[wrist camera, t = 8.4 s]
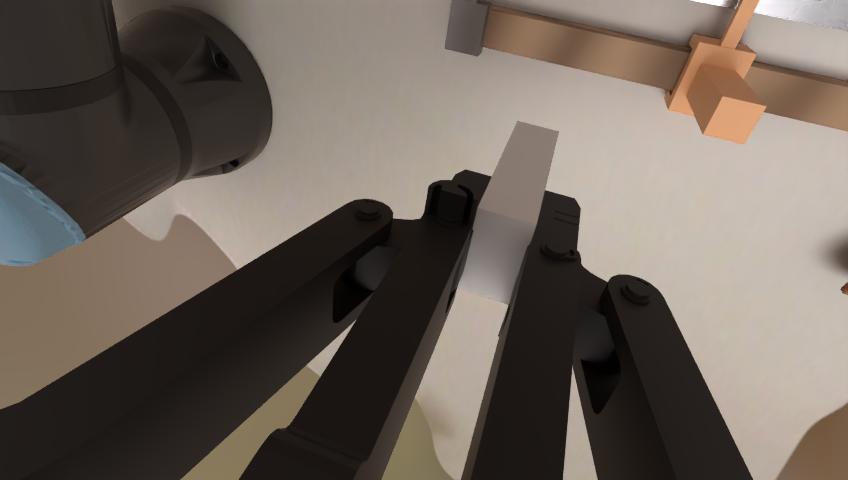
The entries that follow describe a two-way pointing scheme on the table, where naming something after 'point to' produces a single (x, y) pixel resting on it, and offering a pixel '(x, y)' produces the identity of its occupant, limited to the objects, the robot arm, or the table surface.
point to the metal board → (799, 10)
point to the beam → (635, 59)
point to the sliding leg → (720, 82)
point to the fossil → (845, 289)
